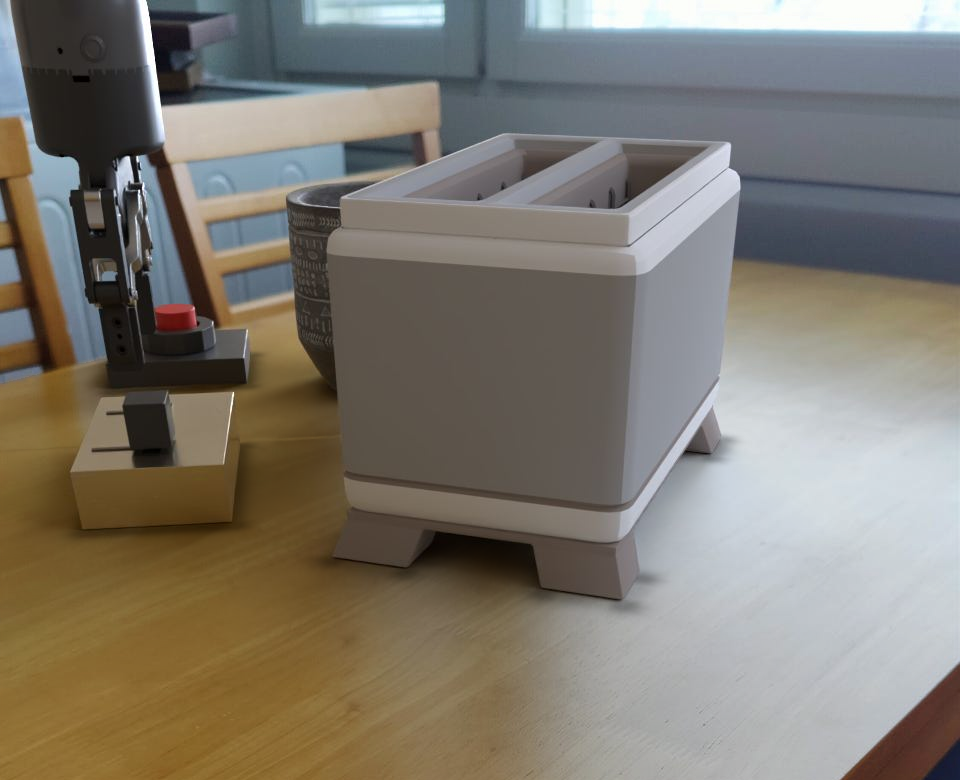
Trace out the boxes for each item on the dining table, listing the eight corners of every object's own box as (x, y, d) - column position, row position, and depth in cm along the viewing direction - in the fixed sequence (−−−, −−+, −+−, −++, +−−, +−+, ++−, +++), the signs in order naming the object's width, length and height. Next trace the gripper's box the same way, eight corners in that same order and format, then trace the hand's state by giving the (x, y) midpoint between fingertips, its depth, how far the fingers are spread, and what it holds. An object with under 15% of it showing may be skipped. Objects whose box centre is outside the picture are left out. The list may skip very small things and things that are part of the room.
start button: (154, 335, 108) (151, 314, 106) (158, 324, 110) (155, 304, 109) (195, 333, 108) (192, 312, 107) (198, 323, 111) (195, 302, 110)
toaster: (729, 425, 98) (763, 134, 86) (623, 600, 72) (649, 222, 60) (504, 401, 103) (506, 124, 91) (332, 557, 78) (301, 201, 65)
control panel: (82, 529, 82) (69, 470, 79) (111, 449, 94) (100, 396, 92) (231, 522, 83) (223, 462, 80) (240, 443, 95) (233, 390, 93)
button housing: (110, 389, 107) (101, 342, 104) (123, 358, 115) (115, 313, 112) (247, 383, 108) (241, 336, 105) (250, 352, 116) (245, 308, 113)
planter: (432, 352, 115) (427, 175, 106) (483, 394, 105) (482, 201, 96) (286, 368, 112) (268, 185, 103) (324, 413, 101) (307, 214, 92)
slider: (130, 450, 82) (121, 405, 80) (134, 435, 84) (126, 391, 82) (171, 448, 82) (164, 403, 80) (175, 433, 85) (168, 389, 83)
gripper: (41, 47, 75) (91, 324, 85) (-4, 69, 64) (59, 385, 74) (164, 47, 76) (199, 321, 86) (141, 68, 64) (184, 381, 74)
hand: (134, 350), depth 80 cm, fingers open, 8 cm apart
